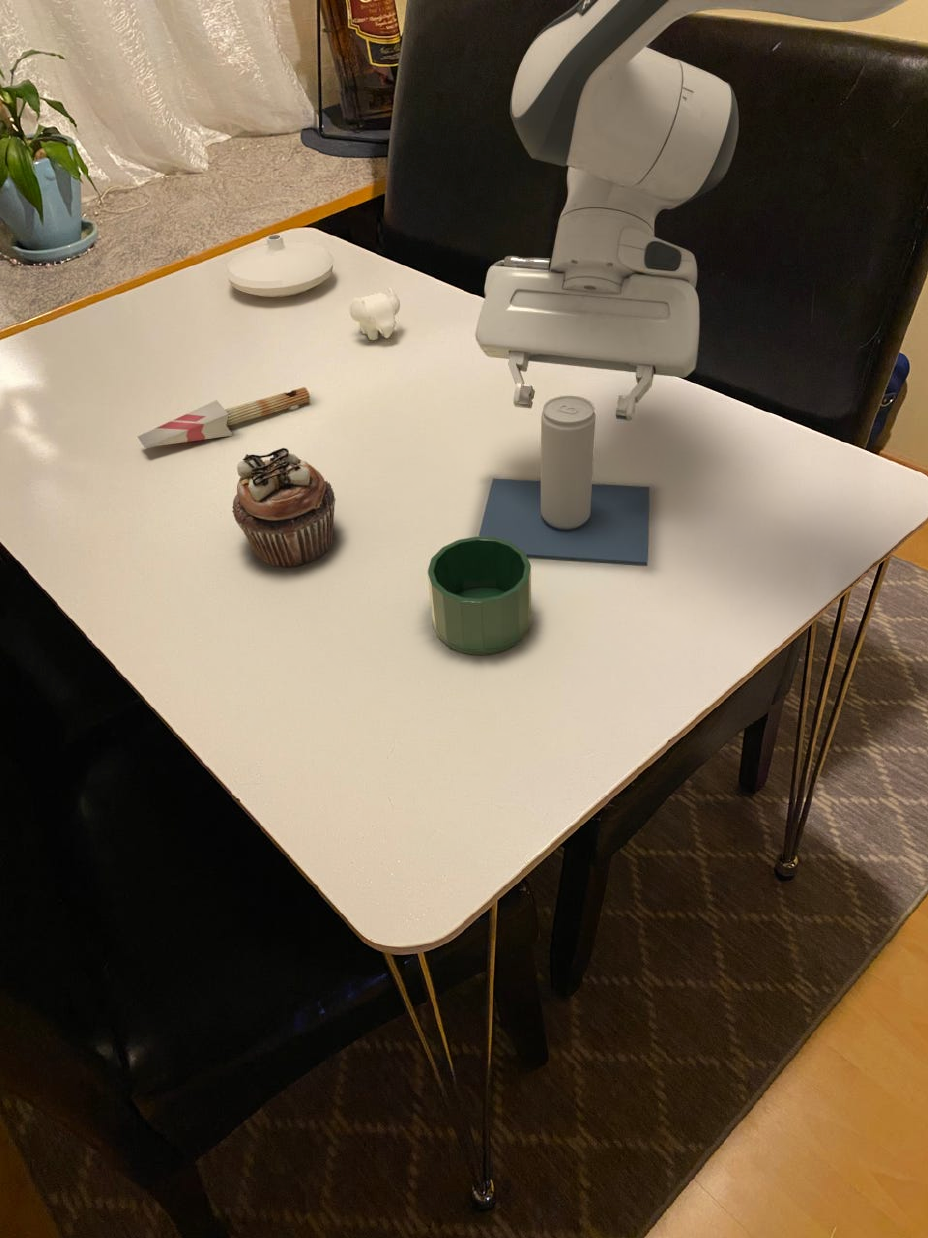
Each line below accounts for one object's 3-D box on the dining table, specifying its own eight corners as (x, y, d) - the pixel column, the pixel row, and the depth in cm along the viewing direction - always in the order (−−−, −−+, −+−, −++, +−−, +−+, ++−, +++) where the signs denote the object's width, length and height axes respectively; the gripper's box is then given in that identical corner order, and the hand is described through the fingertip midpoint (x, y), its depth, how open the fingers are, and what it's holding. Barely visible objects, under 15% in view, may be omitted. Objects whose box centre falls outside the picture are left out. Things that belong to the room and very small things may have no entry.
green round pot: (535, 592, 80) (535, 539, 76) (524, 659, 74) (523, 606, 70) (443, 585, 82) (438, 533, 78) (425, 650, 76) (419, 598, 72)
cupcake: (360, 546, 87) (346, 458, 80) (270, 587, 83) (247, 499, 76) (313, 500, 92) (296, 415, 86) (227, 537, 89) (202, 451, 82)
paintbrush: (132, 422, 100) (299, 377, 107) (138, 444, 101) (302, 398, 109) (142, 437, 97) (312, 390, 105) (148, 459, 99) (315, 411, 106)
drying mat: (649, 489, 91) (649, 486, 91) (646, 565, 82) (647, 562, 82) (493, 481, 93) (492, 478, 93) (475, 554, 85) (475, 550, 85)
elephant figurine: (368, 354, 116) (362, 309, 111) (342, 331, 121) (335, 287, 117) (414, 339, 118) (410, 295, 114) (387, 317, 123) (382, 274, 119)
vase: (288, 317, 125) (278, 266, 120) (207, 295, 131) (195, 246, 127) (358, 275, 134) (351, 227, 129) (279, 257, 141) (270, 210, 136)
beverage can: (576, 538, 85) (581, 427, 77) (531, 523, 87) (531, 414, 79) (598, 511, 88) (605, 402, 80) (554, 497, 90) (557, 389, 82)
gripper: (482, 239, 81) (455, 389, 81) (713, 255, 76) (683, 416, 76) (497, 268, 87) (471, 408, 87) (712, 285, 82) (684, 434, 82)
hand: (572, 412), depth 82 cm, fingers open, 8 cm apart
